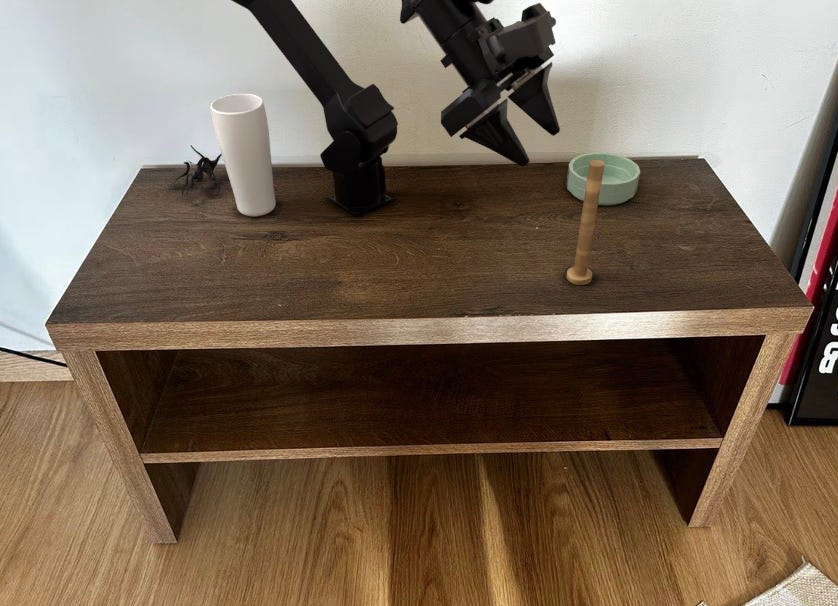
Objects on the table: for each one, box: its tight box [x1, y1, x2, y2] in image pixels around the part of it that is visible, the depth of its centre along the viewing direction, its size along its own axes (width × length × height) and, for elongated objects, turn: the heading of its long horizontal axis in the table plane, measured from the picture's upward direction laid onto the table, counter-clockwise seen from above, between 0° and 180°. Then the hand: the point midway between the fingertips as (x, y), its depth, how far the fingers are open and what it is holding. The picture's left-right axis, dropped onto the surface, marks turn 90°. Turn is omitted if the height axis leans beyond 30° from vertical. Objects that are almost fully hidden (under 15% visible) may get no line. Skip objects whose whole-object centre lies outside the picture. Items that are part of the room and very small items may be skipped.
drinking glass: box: [209, 93, 277, 218], centre depth 93 cm, size 7×7×15 cm
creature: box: [173, 144, 222, 198], centre depth 101 cm, size 8×5×8 cm
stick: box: [566, 160, 605, 286], centre depth 80 cm, size 3×3×15 cm
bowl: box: [566, 152, 641, 206], centre depth 100 cm, size 10×10×4 cm
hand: (542, 148), depth 81 cm, fingers open, 9 cm apart
